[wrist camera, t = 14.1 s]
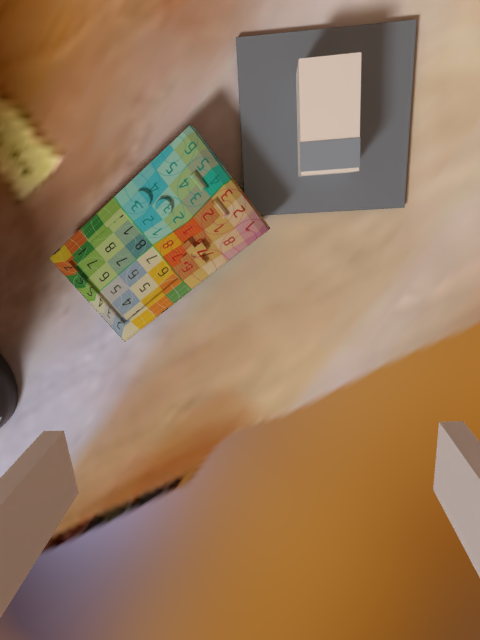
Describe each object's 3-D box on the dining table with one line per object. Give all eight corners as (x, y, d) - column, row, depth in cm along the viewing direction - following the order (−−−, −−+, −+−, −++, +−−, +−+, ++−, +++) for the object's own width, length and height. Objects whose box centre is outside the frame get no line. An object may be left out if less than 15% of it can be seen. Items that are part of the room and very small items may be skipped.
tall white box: (295, 74, 38) (298, 58, 33) (351, 68, 37) (362, 51, 33) (297, 176, 41) (300, 175, 36) (349, 172, 40) (359, 170, 35)
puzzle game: (268, 230, 38) (121, 345, 44) (271, 224, 42) (137, 329, 48) (187, 123, 36) (44, 260, 42) (199, 128, 40) (67, 251, 46)
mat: (245, 215, 43) (245, 216, 42) (236, 39, 38) (235, 37, 37) (402, 207, 41) (404, 207, 41) (414, 22, 36) (416, 19, 36)
